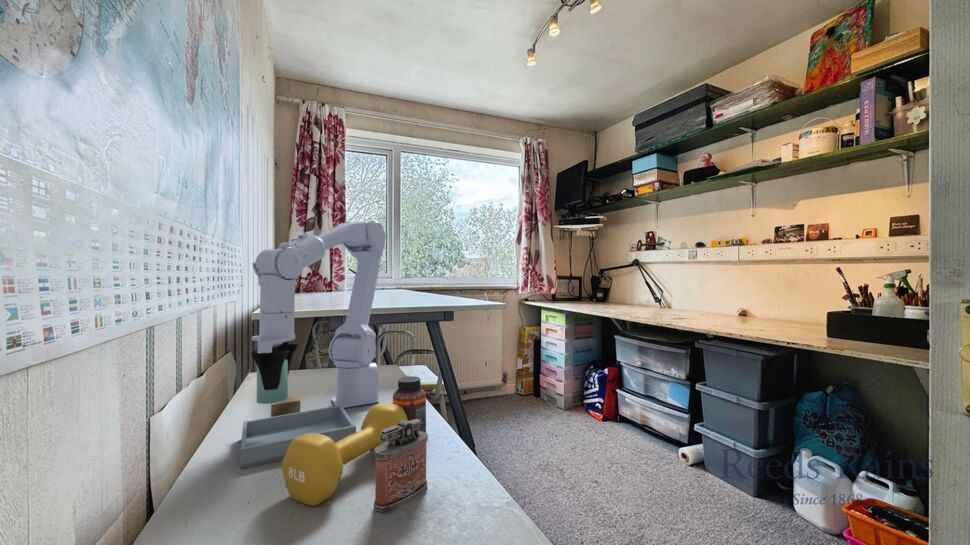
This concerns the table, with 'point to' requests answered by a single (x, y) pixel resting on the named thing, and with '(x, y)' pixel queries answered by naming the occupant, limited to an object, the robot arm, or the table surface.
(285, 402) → the cube
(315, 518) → the table surface
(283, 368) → the teal cylinder
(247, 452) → the tote
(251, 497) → the table surface
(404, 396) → the supplement bottle
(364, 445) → the dumbbell
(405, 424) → the lighter
